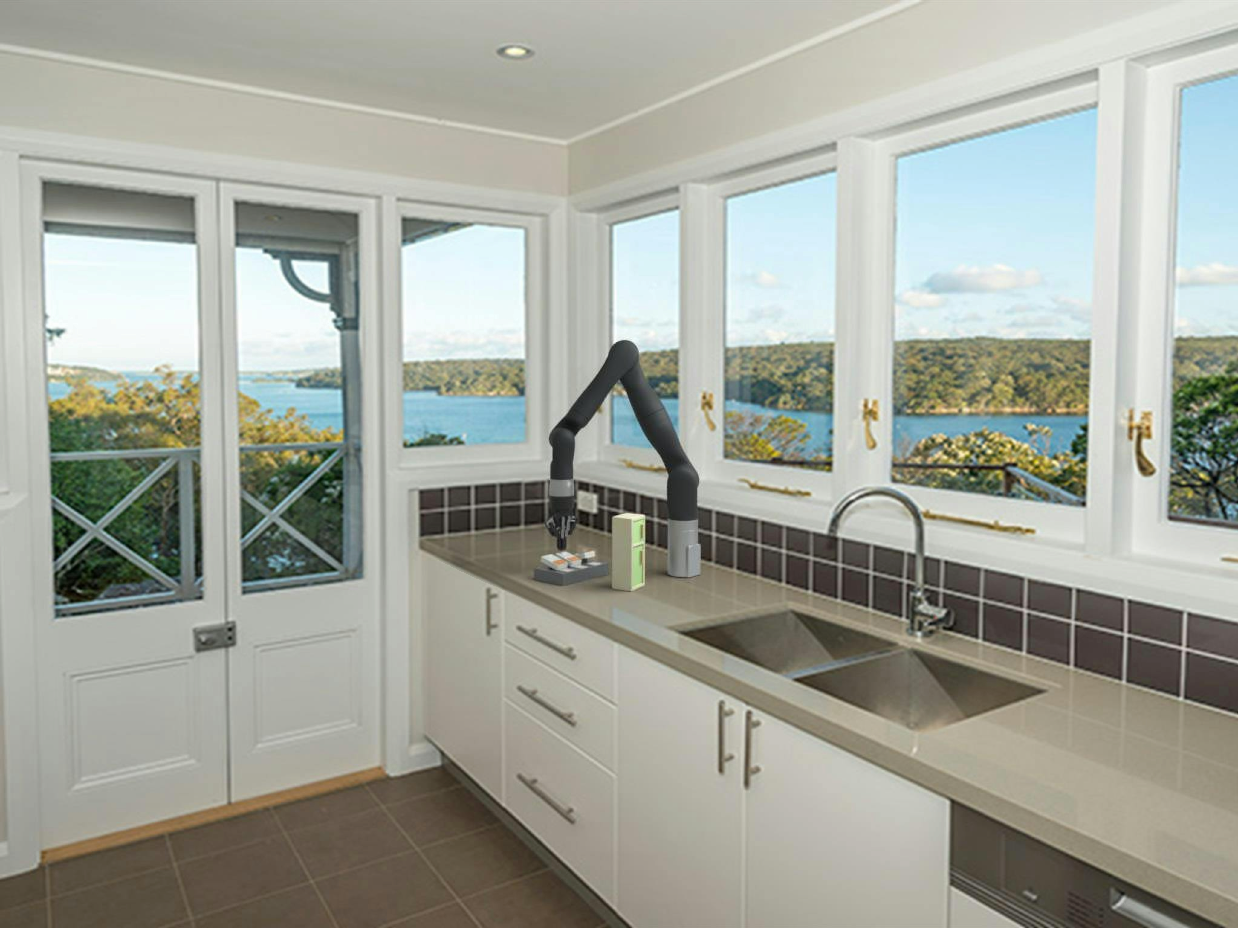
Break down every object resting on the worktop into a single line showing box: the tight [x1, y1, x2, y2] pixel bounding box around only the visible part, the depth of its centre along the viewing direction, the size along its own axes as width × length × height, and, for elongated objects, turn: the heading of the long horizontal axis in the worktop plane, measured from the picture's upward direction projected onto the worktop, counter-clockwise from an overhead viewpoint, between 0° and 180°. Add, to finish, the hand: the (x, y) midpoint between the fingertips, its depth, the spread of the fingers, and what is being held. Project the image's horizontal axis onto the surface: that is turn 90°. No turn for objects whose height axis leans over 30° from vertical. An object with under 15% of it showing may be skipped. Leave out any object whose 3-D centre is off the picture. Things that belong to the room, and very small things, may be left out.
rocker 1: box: [540, 553, 568, 570], centre depth 280 cm, size 7×4×2 cm, turn 50°
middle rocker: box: [554, 550, 582, 567], centre depth 284 cm, size 7×4×2 cm, turn 50°
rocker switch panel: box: [533, 558, 610, 587], centre depth 285 cm, size 12×24×4 cm, turn 139°
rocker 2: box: [573, 550, 596, 559], centre depth 289 cm, size 7×4×2 cm, turn 49°
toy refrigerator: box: [611, 512, 646, 592], centre depth 269 cm, size 8×7×21 cm
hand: (561, 549), depth 286 cm, fingers closed
